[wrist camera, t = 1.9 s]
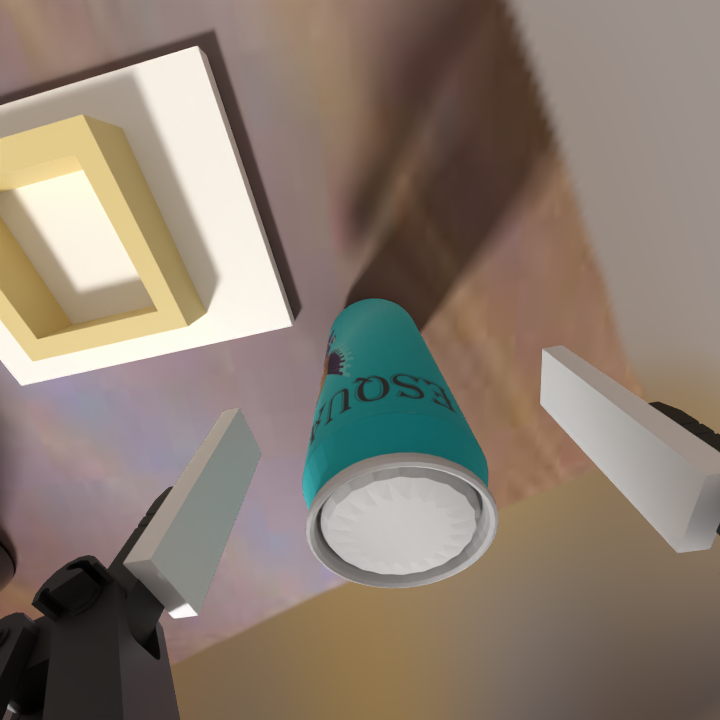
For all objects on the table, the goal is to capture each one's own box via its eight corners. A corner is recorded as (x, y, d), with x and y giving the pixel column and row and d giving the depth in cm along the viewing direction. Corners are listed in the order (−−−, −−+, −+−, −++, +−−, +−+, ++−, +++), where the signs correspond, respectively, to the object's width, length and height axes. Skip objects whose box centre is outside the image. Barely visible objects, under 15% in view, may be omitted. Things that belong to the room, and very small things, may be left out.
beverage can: (332, 288, 20) (291, 446, 7) (419, 294, 21) (542, 458, 7) (329, 365, 23) (295, 593, 9) (406, 370, 23) (480, 597, 10)
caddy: (34, 378, 23) (-17, 405, 20) (-140, 159, 17) (-253, 148, 14) (294, 321, 21) (284, 340, 18) (206, 55, 15) (168, 15, 12)
